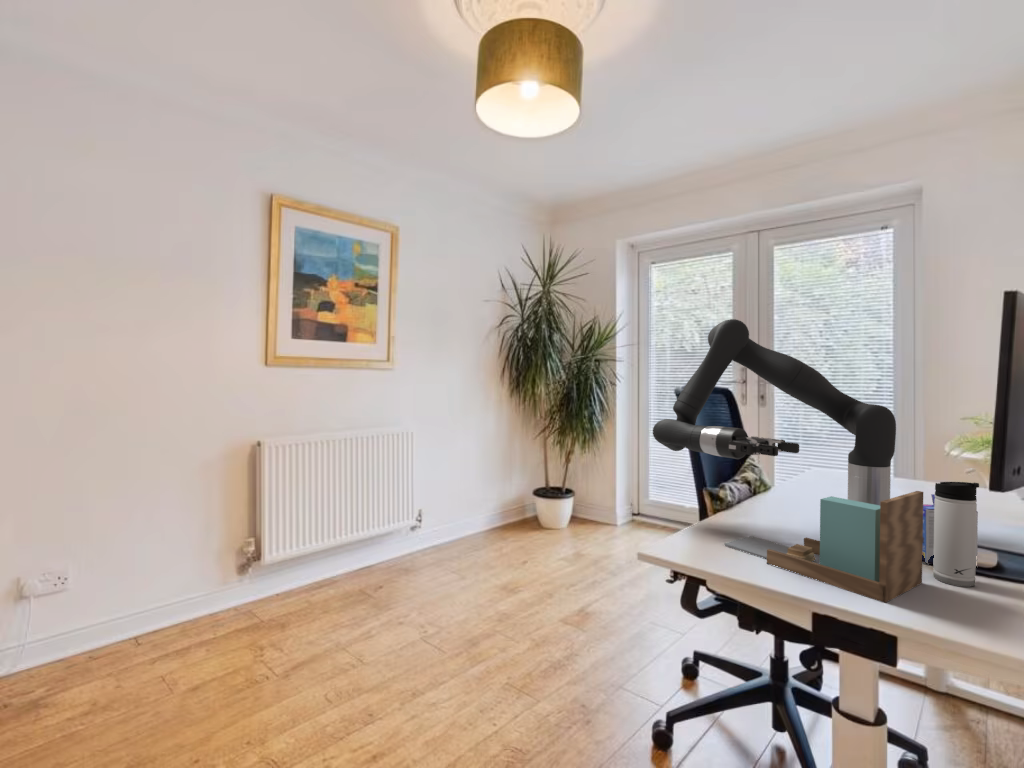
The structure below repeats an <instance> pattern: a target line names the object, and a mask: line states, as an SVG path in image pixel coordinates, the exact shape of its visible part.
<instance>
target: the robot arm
mask: <svg viewBox="0 0 1024 768" xmlns="http://www.w3.org/2000/svg"><path fill="white" fill-rule="evenodd" d="M707 342H708V346H709V349H708V352H707V353H706V355H705V357H704V358H703V360H702V361H701V364H700V365H699V366H698V368H697V369H696V370H695V371H694V373H693V375H692V376H691V377H690V379H689V380H688V381H687V383H685V385H684V387H683V388H682V390H681V391H680V393H679V395H678V397H677V399H676V400H675V402H674V404H673V406H672V410H673V412H674V413H675V414H676V419H670V418H664V419H660V420H658V421H657V422H656V423H655V424H654V426H653V428H652V436H653V438H654V439H655V440H656V441H657V443H659V444H660V445H662V446H664V447H666V448H668V449H669V450H671V451H673V452H679V451H682V450H683V449H685V448H686V449H687V450H690V451H692V452H697V453H702V454H703V453H704V454H709V455H712V456H716V457H721V458H728V459H735V460H740V459H742V458H744V457H745V456H746V455H748V456H760V455H762V456H768V457H769V456H771V457H778V456H779V453H782V452H784V453H792V454H798V453H799V452H800V444H799V443H797V442H789V441H786V440H785V439H778V438H777V439H775V438H770V437H759V436H755V435H753V436H749V435H748V433H747V431H746V430H745V429H743V428H739V427H731V426H730V427H729V426H719V425H717V426H716V425H713V426H708V425H699V424H697V418H698V416H699V415H700V413H701V412H702V411H703V408H704V407H705V405H706V403H707V401H708V399H709V397H710V396H711V394H712V392H713V390H714V389H715V387H716V385H717V384H718V381H719V380H720V379H721V377H722V375H723V374H724V373H725V371H726V370H727V368H728V367H729V365H730V364H731V363H732V362H734V363H737V364H739V365H741V366H743V367H745V368H746V369H748V370H750V371H751V372H753V373H755V375H757V376H759V377H760V378H762V379H763V380H765V381H766V382H768V383H770V384H771V385H773V387H775V388H777V389H779V390H780V391H782V392H784V393H785V394H787V395H789V396H790V397H792V398H794V399H796V400H797V401H800V402H802V403H803V404H805V405H807V406H809V407H811V408H813V409H815V410H817V411H820V412H821V413H823V414H824V415H825V416H827V417H829V418H830V419H832V420H833V421H835V422H836V423H837V424H838V425H840V426H841V427H843V429H845V430H846V431H848V432H849V433H851V434H852V435H854V436H855V438H854V439H855V440H854V441H855V442H854V448H853V449H852V450H851V451H849V452H848V457H847V462H848V463H847V499H848V500H853V501H859V502H864V503H869V504H874V505H880V503H881V501H884V500H887V499H891V467H892V465H891V463H892V460H893V457H894V455H895V451H896V438H897V437H896V435H897V423H896V417H895V415H894V412H892V410H890V409H889V408H888V407H886V406H883V405H880V404H875V403H874V404H873V403H866V402H863V401H861V400H859V399H856V398H853V397H852V396H850V395H847V394H846V393H845V392H842V391H841V390H839V389H838V388H837V387H836V386H835V385H833V384H832V383H831V382H830V381H829V380H828V379H827V378H826V377H825V376H824V375H823V374H822V373H821V372H819V371H818V370H817V369H815V368H814V367H811V366H809V365H808V364H807V363H805V362H803V361H802V360H800V359H797V358H795V357H793V356H790V355H788V354H785V353H783V352H779V351H778V350H777V351H776V350H774V349H770V348H768V347H766V346H765V347H764V346H763V345H761V344H759V343H757V342H756V341H754V340H753V339H752V338H750V332H749V328H748V326H747V325H746V324H745V322H743V321H741V320H739V319H736V318H732V319H726V320H724V321H721V322H719V323H717V324H716V325H715V326H714V327H713V328H711V330H710V331H709V332H708V335H707ZM696 424H697V425H696ZM776 444H777V445H776Z"/></svg>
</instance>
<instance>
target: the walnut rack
mask: <svg viewBox="0 0 1024 768" xmlns="http://www.w3.org/2000/svg"><path fill="white" fill-rule="evenodd" d="M923 504H924V491H921V490H920V491H919V490H915V491H912V492H909V493H905V494H901V495H899V496H895V497H890V499H887V500H884V501H881V503H880V568H879V582H877V581H874V580H870V579H867V578H864V577H860V576H857V575H854V574H850V573H847V572H844V571H841V570H837V569H834V568H831V567H827V566H824V565H821V564H820V563H818V562H815V561H813V562H811V561H808V560H804V559H801V558H798V557H794V556H791V555H788V554H784V553H781V552H778V551H775V550H771V549H768V550H767V559H766V564H767V563H769V564H772V565H775V566H778V567H781V568H784V569H783V570H785V569H787V570H786V571H788V570H790V571H789V572H791V571H793V572H792V573H794V572H796V573H795V574H797V573H799V574H798V575H800V574H801V575H800V576H803V575H804V577H806V576H807V577H806V578H809V577H810V578H809V579H812V578H813V579H812V580H815V579H817V580H816V581H818V580H819V581H818V582H821V581H822V582H821V583H824V582H825V583H824V584H827V585H831V586H832V587H833V586H834V587H836V588H840V589H843V590H845V591H849V592H851V593H854V594H857V595H861V596H864V597H867V598H870V599H873V600H876V601H879V602H881V603H888V602H890V601H891V600H893V599H896V598H897V597H899V596H901V595H902V594H905V593H907V592H908V591H911V590H912V589H914V588H916V587H918V586H920V585H922V584H923V562H922V548H923ZM803 546H807V547H812V552H813V553H814V555H817V556H820V540H817V539H814V538H811V537H804V538H803ZM769 564H768V565H769ZM772 565H771V566H772ZM775 566H774V567H775ZM778 567H777V568H778ZM781 568H780V569H781Z"/></svg>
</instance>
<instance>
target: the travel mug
mask: <svg viewBox="0 0 1024 768" xmlns="http://www.w3.org/2000/svg"><path fill="white" fill-rule="evenodd" d="M934 484H935V485H934V486H935V487H934V490H935V491H934V495H935V499H934V558H933V567H932V568H933V571H932V573H933V574H932V576H933V578H935V579H936V580H938V581H939V582H942V583H944V584H948V585H951V586H954V587H955V586H956V587H962V588H970V587H974V586H975V585H976V569H977V568H976V512H978V511H977V505H978V504H977V488H980V483H979V482H967V481H940V482H939V483H937V482H935V483H934Z"/></svg>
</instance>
